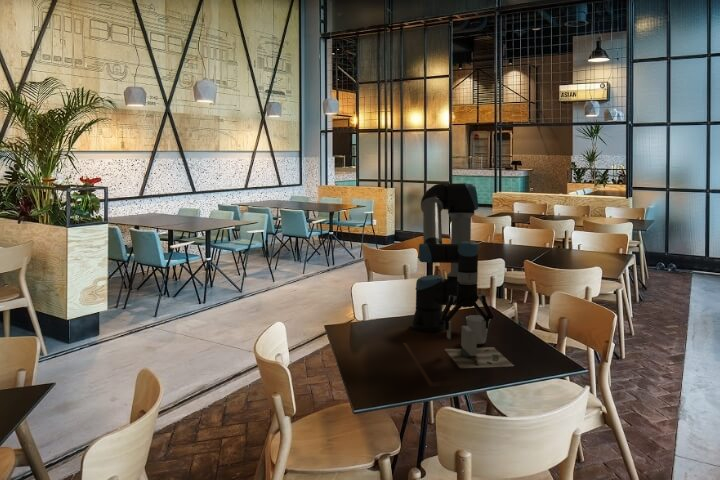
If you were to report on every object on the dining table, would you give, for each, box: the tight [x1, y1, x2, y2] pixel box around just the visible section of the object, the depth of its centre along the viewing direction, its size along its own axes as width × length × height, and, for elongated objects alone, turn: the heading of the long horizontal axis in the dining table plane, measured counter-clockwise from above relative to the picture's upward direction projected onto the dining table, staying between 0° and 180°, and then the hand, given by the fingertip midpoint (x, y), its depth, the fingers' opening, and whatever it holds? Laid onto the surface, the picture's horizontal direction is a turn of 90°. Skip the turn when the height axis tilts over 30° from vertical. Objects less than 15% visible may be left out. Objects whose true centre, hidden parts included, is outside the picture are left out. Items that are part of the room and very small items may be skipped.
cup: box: [465, 314, 492, 345], centre depth 241 cm, size 10×10×11 cm
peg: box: [460, 325, 478, 363], centre depth 221 cm, size 15×6×10 cm, turn 7°
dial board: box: [444, 346, 515, 369], centre depth 222 cm, size 22×20×1 cm
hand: (466, 337), depth 226 cm, fingers open, 13 cm apart
